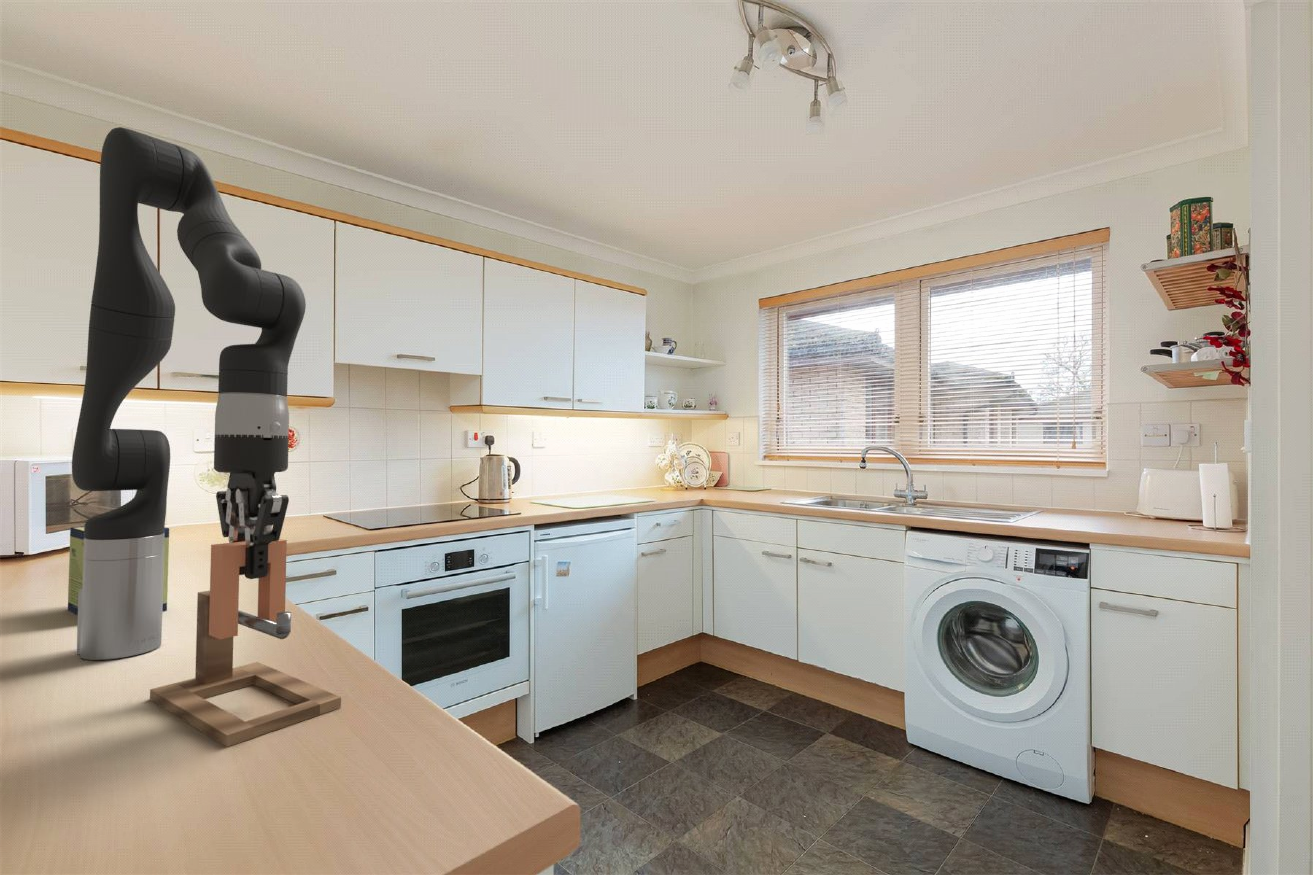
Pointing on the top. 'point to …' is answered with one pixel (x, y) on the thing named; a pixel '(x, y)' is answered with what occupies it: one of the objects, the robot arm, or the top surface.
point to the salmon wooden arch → (227, 586)
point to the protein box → (77, 567)
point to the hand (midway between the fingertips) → (249, 575)
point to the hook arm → (267, 624)
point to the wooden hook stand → (222, 677)
